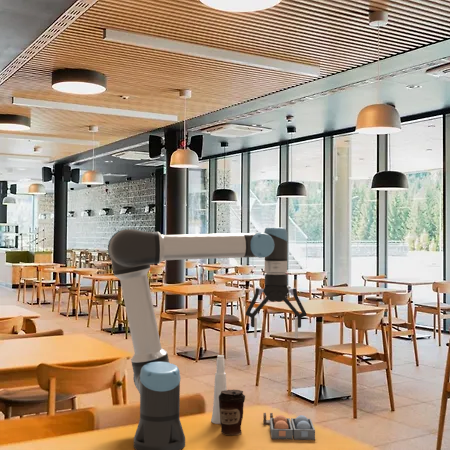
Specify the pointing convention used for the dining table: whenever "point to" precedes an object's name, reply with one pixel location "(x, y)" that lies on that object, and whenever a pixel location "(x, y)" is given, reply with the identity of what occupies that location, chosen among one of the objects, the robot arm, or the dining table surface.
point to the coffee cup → (231, 411)
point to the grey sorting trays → (292, 431)
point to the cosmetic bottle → (218, 387)
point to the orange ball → (281, 425)
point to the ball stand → (267, 422)
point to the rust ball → (279, 419)
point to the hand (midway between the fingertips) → (275, 337)
